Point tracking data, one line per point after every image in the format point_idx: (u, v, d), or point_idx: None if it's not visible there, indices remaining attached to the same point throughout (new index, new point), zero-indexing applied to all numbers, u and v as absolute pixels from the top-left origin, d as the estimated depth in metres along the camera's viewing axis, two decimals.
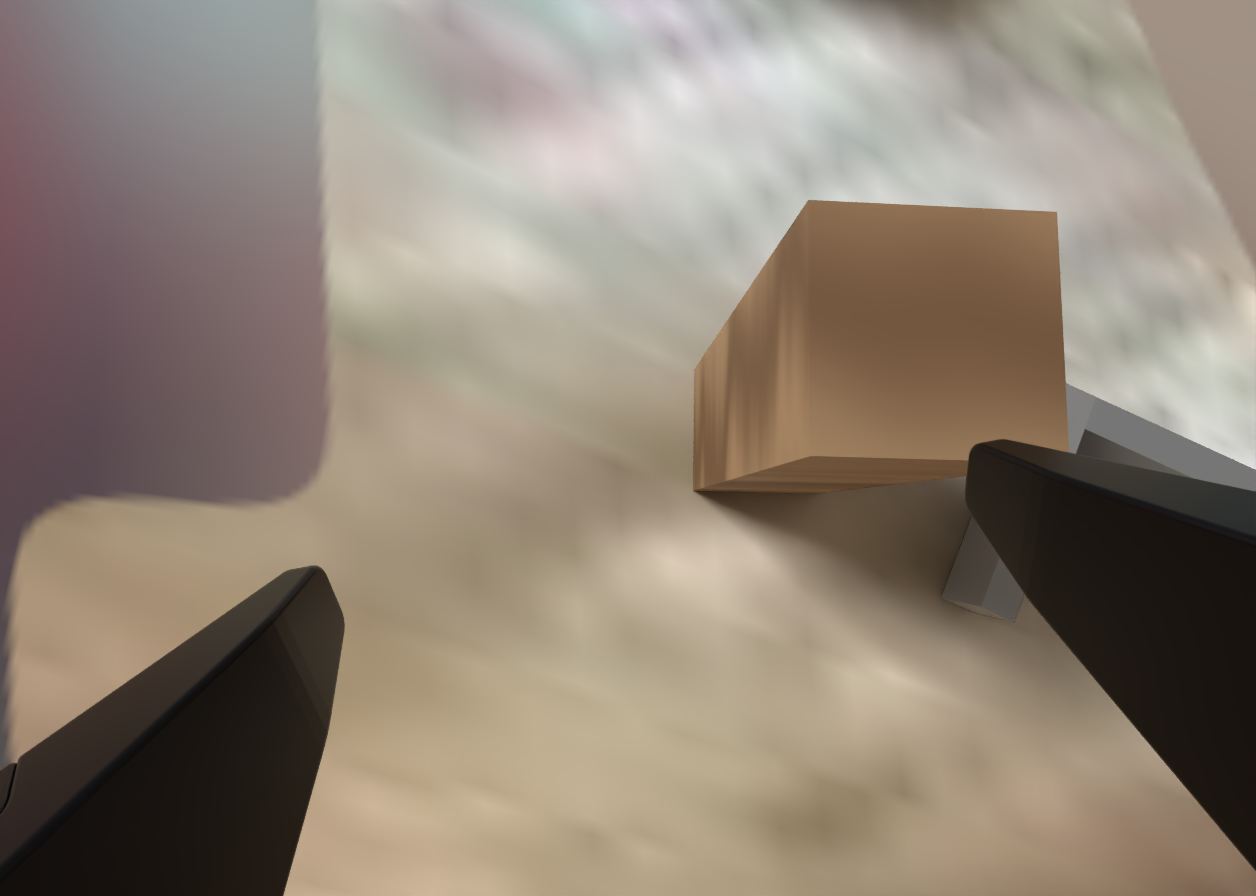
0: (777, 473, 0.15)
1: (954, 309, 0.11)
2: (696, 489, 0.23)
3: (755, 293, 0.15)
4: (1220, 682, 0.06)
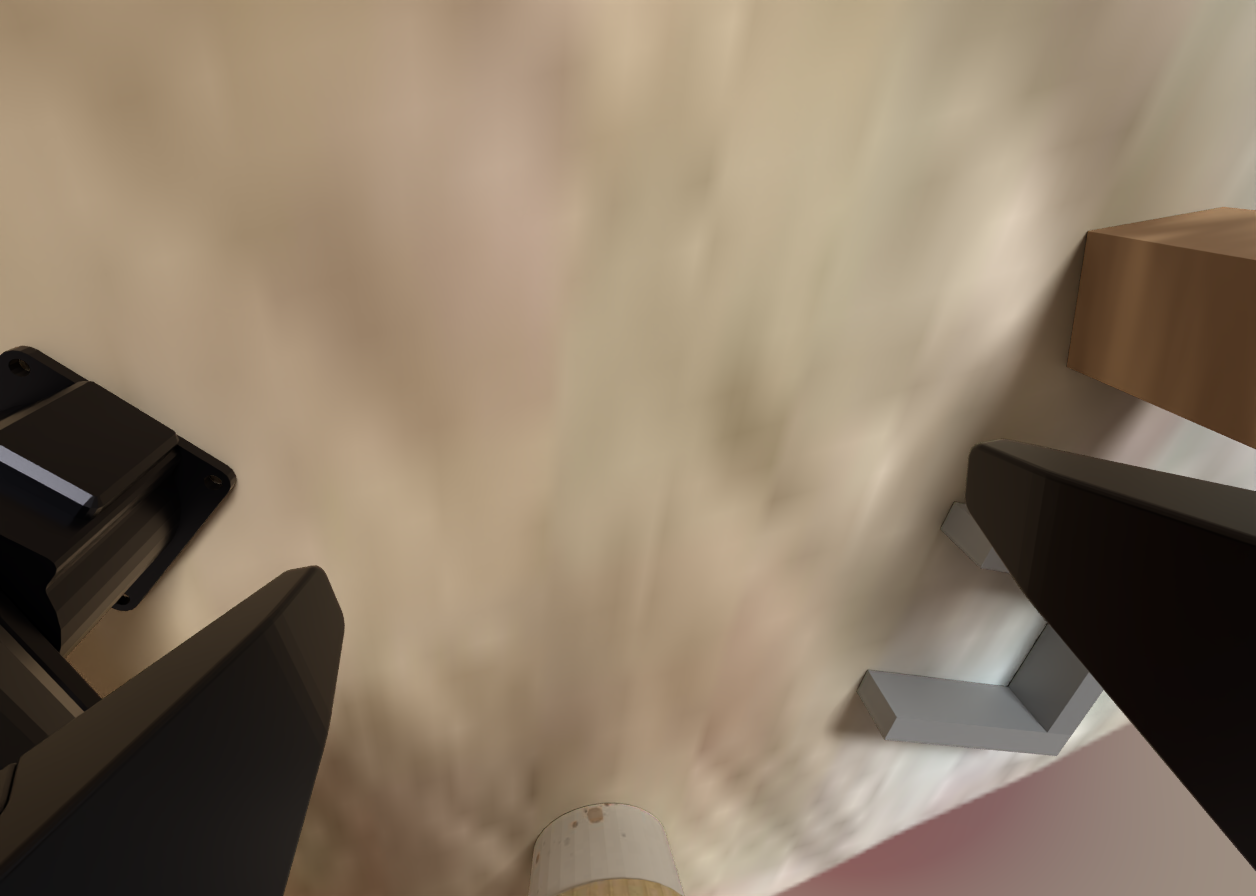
0: None
1: None
2: (1106, 234, 0.20)
3: None
4: (1220, 682, 0.06)
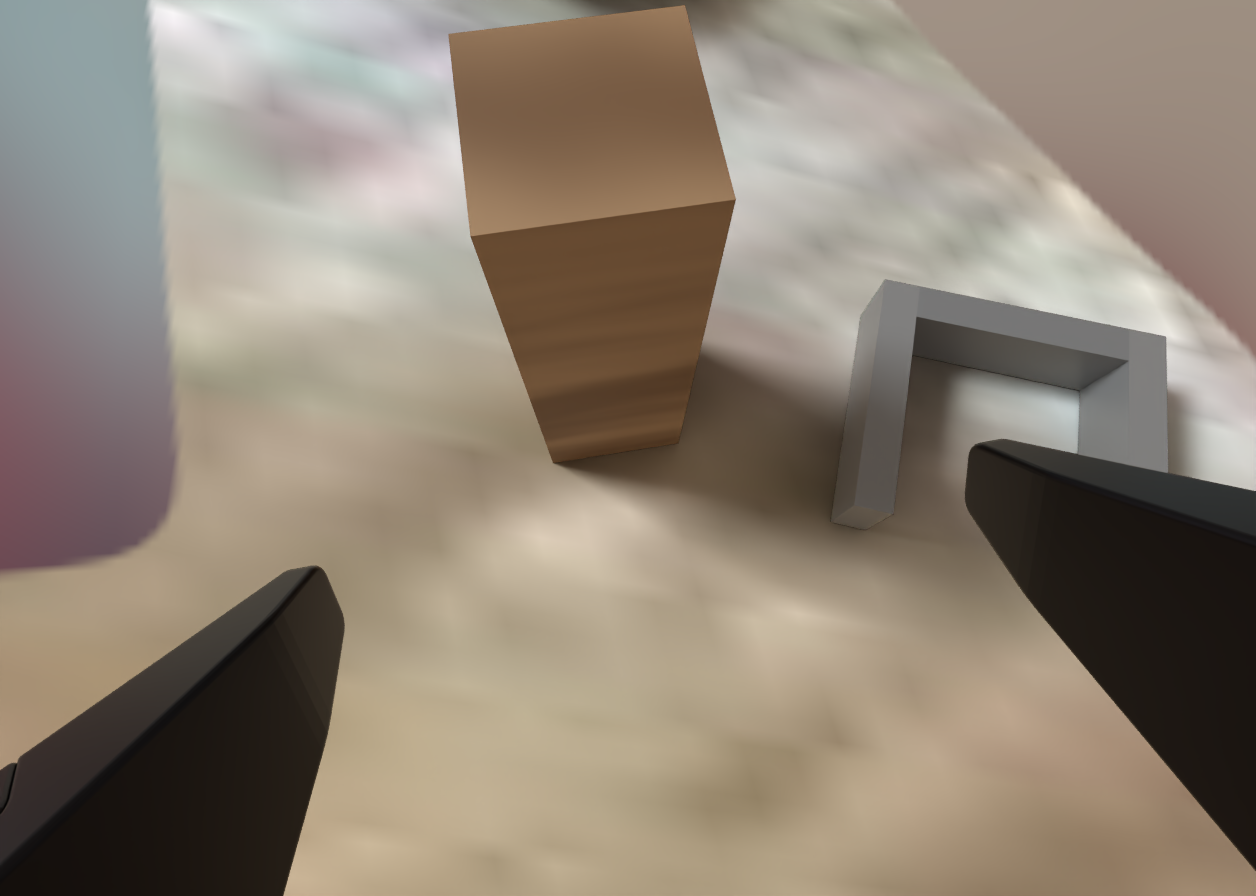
0: (535, 342, 0.15)
1: (598, 93, 0.12)
2: (551, 456, 0.23)
3: None
4: (1220, 682, 0.06)
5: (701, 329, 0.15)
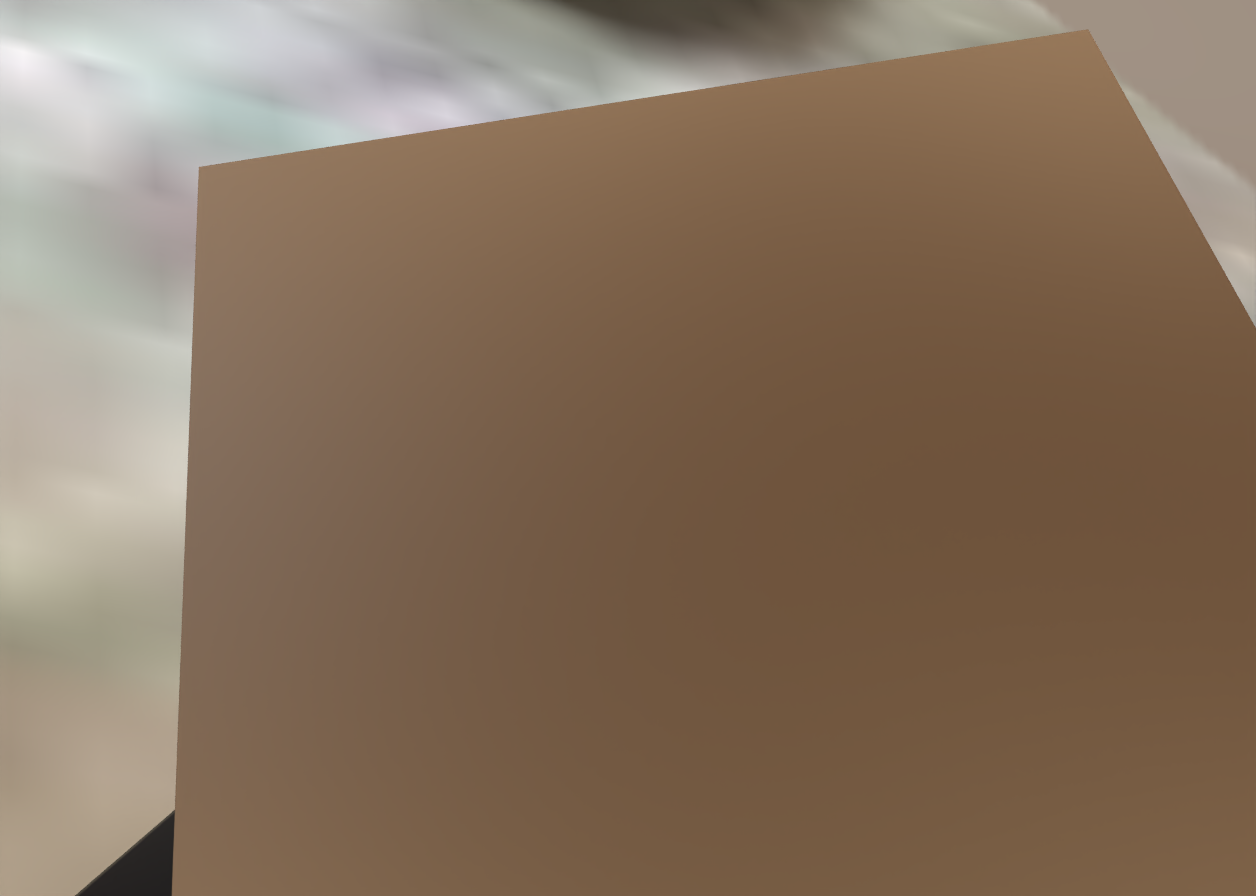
0: None
1: (819, 430, 0.03)
2: None
3: None
4: None
5: None
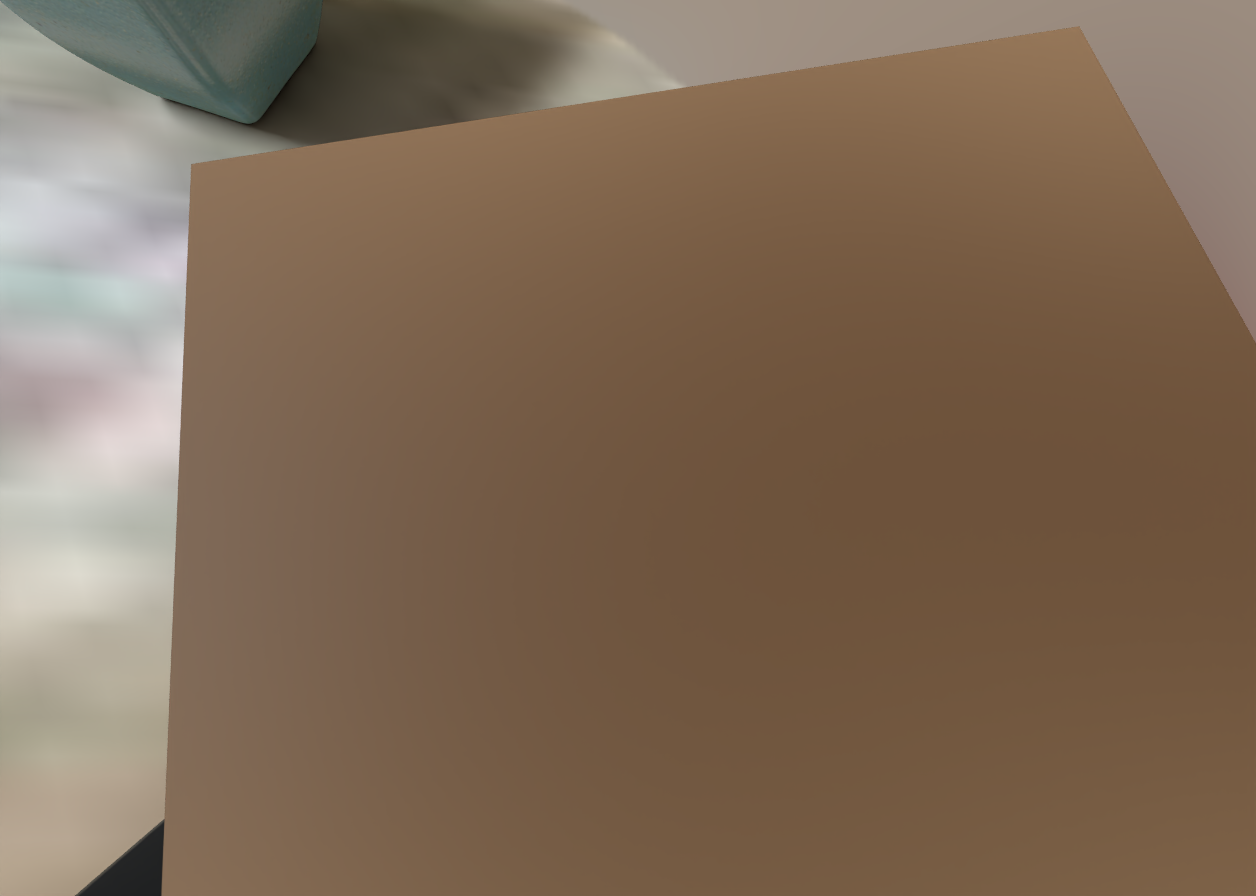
0: None
1: (808, 426, 0.03)
2: None
3: None
4: None
5: None
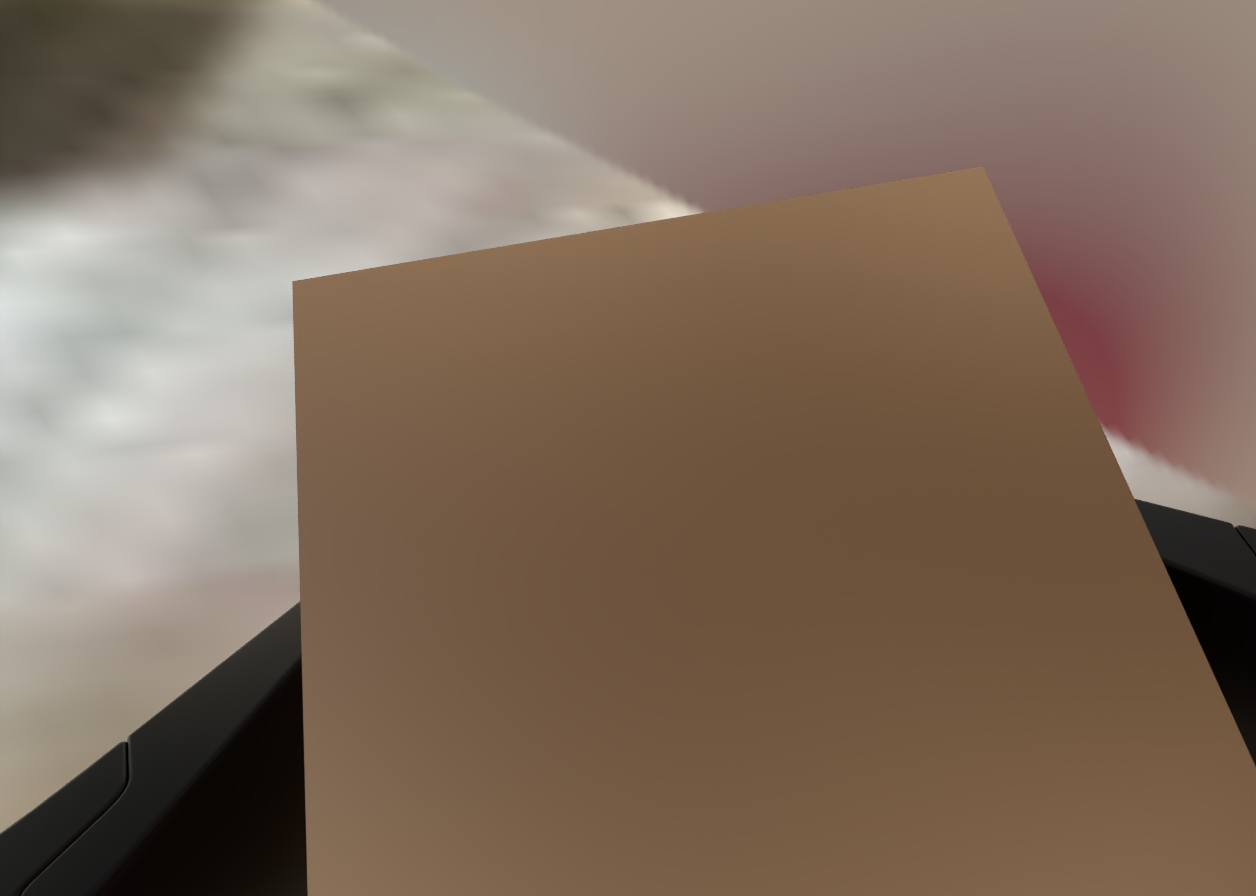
0: None
1: (766, 489, 0.04)
2: None
3: None
4: None
5: None
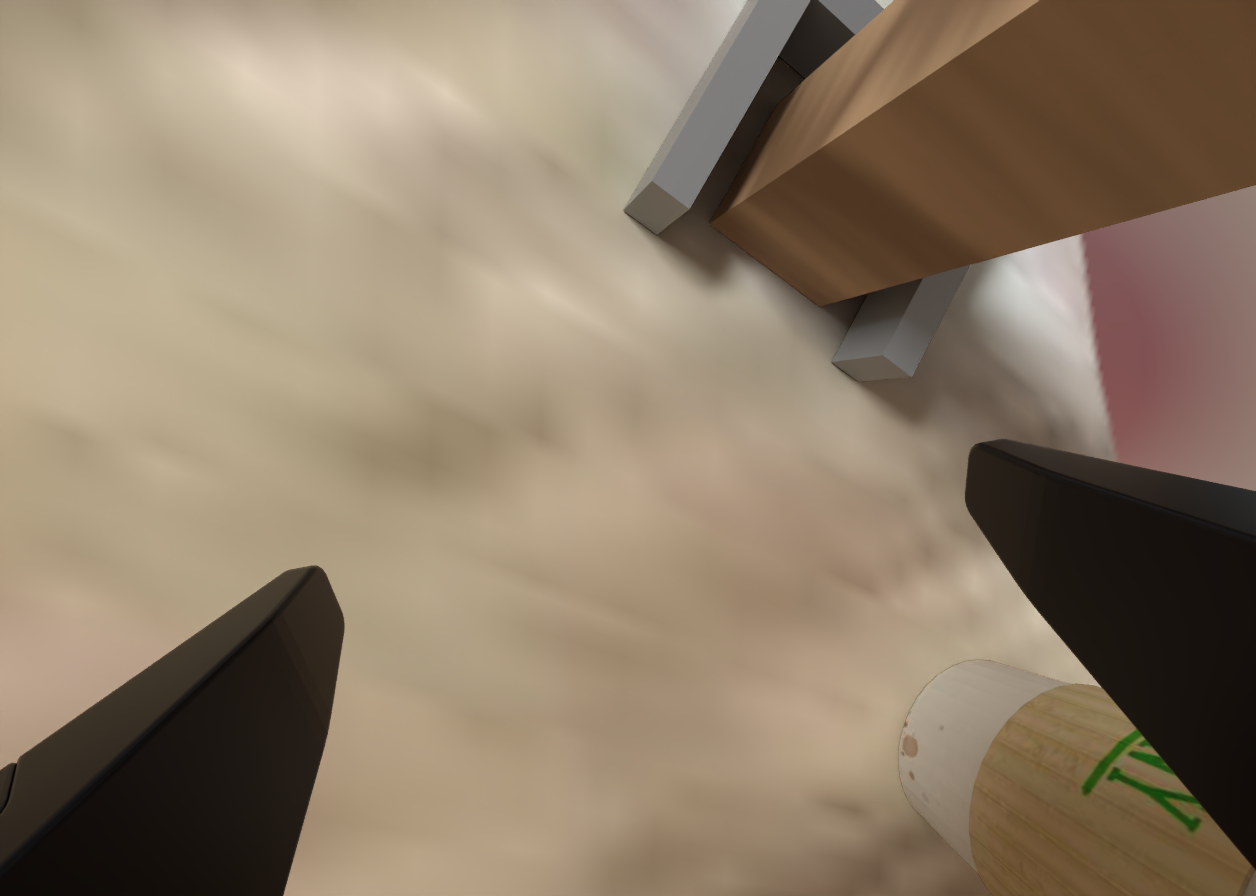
0: (950, 97, 0.11)
1: None
2: (720, 216, 0.19)
3: None
4: (1220, 682, 0.06)
5: (1060, 235, 0.13)
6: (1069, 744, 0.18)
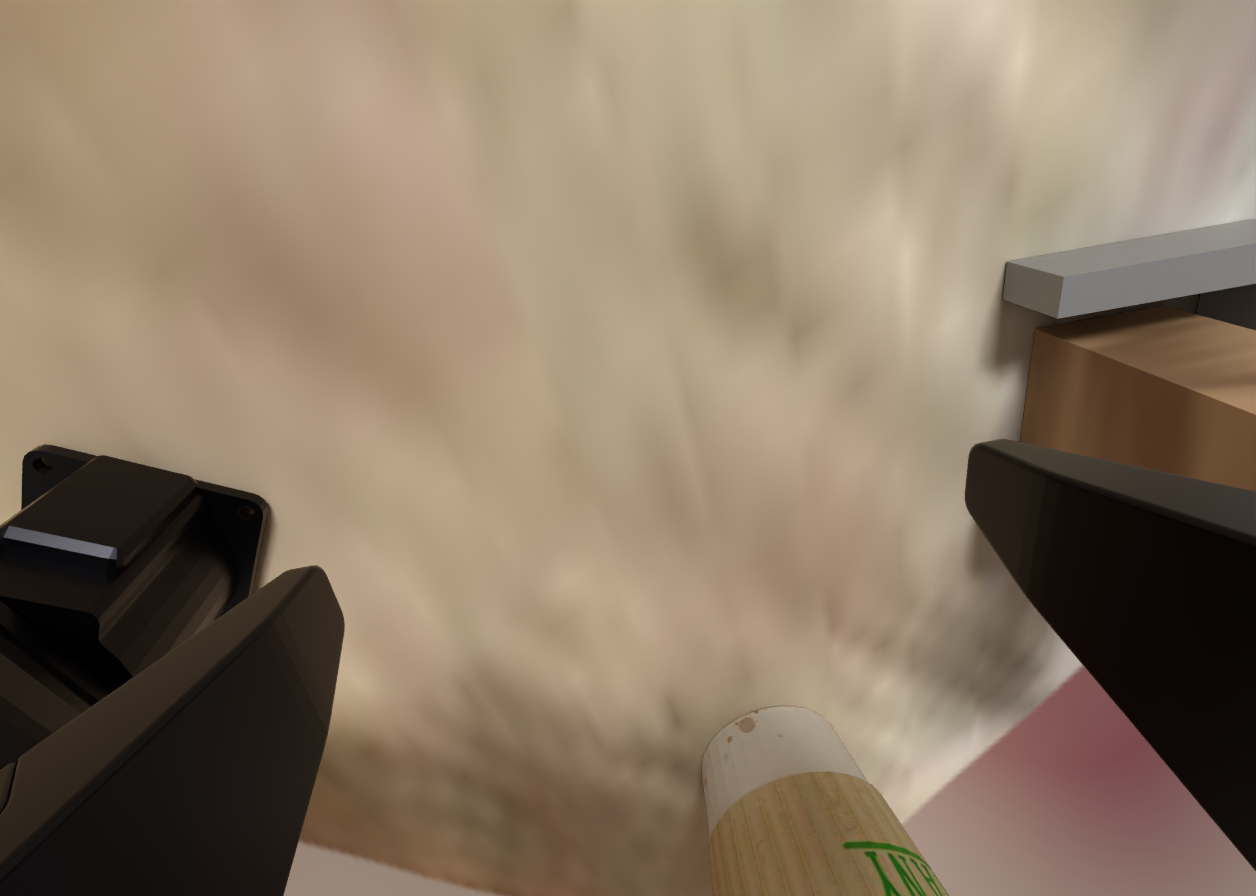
0: None
1: None
2: (1050, 335, 0.21)
3: None
4: (1221, 682, 0.06)
5: None
6: (855, 817, 0.23)
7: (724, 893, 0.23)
